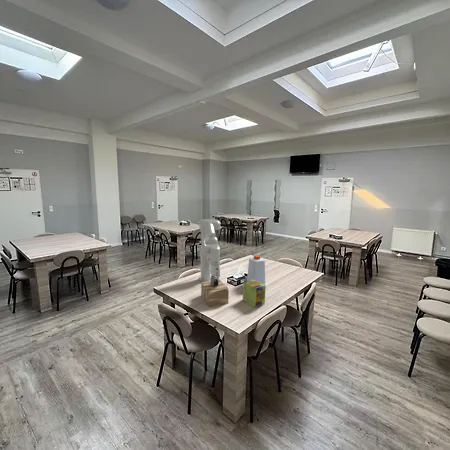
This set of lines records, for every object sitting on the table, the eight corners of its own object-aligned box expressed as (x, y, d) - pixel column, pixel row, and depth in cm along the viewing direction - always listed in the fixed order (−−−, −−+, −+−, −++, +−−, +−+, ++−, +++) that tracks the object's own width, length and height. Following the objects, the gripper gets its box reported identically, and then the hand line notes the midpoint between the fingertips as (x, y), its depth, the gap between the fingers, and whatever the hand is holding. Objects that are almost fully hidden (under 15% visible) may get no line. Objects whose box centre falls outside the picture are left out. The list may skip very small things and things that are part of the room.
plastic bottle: (258, 280, 235) (260, 252, 231) (267, 286, 222) (268, 257, 217) (245, 282, 229) (246, 254, 225) (252, 288, 216) (254, 259, 211)
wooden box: (201, 295, 200) (201, 283, 199) (219, 292, 207) (219, 280, 205) (209, 306, 182) (209, 293, 181) (228, 303, 189) (228, 290, 187)
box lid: (201, 283, 199) (201, 282, 199) (219, 279, 205) (219, 279, 205) (209, 293, 181) (209, 292, 181) (228, 289, 187) (228, 288, 187)
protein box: (255, 307, 183) (256, 288, 180) (242, 299, 195) (243, 281, 192) (265, 303, 189) (266, 285, 186) (251, 296, 201) (252, 278, 198)
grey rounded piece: (209, 283, 194) (209, 277, 193) (216, 282, 197) (217, 276, 196) (212, 286, 188) (212, 280, 188) (219, 285, 191) (219, 279, 190)
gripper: (223, 265, 183) (223, 287, 186) (215, 258, 199) (215, 279, 202) (214, 266, 180) (213, 288, 183) (206, 259, 196) (206, 280, 199)
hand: (214, 283), depth 192 cm, fingers closed on grey rounded piece, 6 cm apart
